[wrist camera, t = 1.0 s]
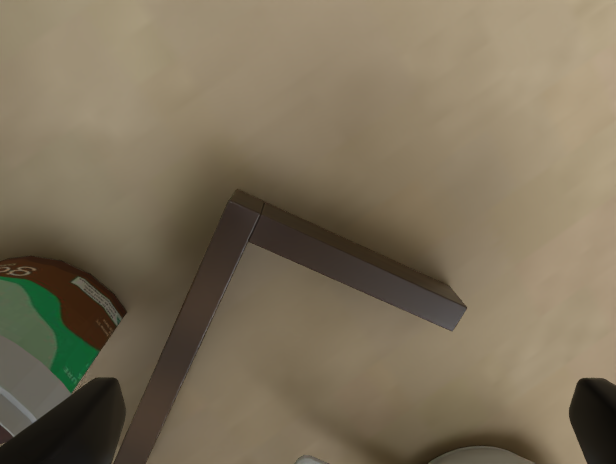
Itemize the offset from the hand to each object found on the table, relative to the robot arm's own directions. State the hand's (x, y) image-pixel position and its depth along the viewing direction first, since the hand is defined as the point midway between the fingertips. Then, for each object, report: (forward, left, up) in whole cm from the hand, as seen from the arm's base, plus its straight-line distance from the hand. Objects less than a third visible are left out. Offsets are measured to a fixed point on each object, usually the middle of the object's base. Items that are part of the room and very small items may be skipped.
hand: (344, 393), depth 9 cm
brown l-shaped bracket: (-9, -2, -14) cm, 16 cm away
